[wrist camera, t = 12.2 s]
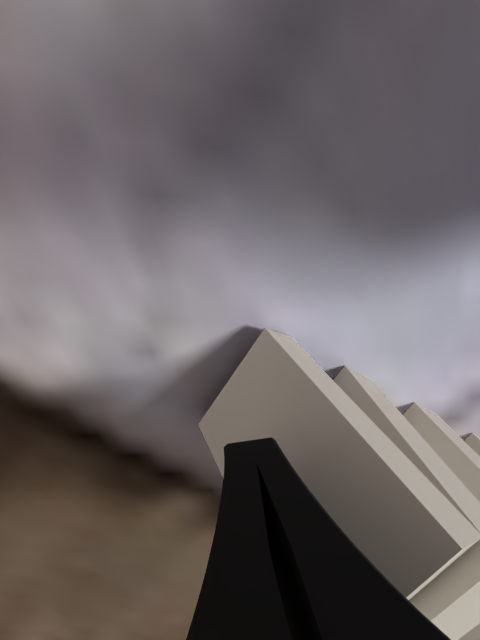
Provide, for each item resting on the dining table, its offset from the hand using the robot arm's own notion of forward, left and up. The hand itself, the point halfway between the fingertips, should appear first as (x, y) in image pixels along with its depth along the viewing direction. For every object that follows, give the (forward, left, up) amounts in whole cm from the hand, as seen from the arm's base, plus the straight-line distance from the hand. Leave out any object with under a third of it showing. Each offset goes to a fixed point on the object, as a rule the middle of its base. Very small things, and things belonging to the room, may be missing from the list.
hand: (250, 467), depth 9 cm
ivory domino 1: (-1, 0, -5) cm, 5 cm away
